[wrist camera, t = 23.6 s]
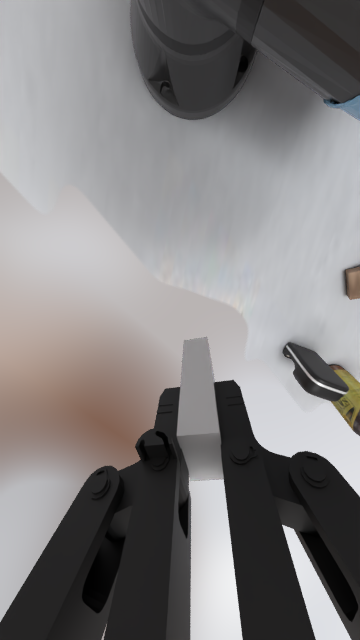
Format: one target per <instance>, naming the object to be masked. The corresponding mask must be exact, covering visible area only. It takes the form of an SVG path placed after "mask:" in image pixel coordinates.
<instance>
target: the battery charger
mask: <svg viewBox="0 0 360 640" xmlns="http://www.w3.org/2000/svg"><path fill="white" fill-rule="evenodd" d="M283 354H284V356H285V357H287V358H290V359H292V360H293V362H294V363H295V370H294V371H293V375H294V377H295V378H296V380H297V381H298V383H299V384H300V385H301V387H302V388H303V389H304V390H305V391H306V392H308V393H310V394H312V395H314V396H317V397H320V398H323V399H326V400H329V401H333V402H336V401H338V400H340V399H341V398H342V397H343V396H344V395H345V394H347V393H348V391H349V387H348V385H347V384H346V383H345V382H344V381H343V380H342V379H341V378H340V377H339V376H338V375H337V373H336V372H335V371H334V370H333V369H332V368H331V367H330V366H329V365H328V364H327V363H326V362H325V361H324V360H323V359H322V358H321V357H320V356H319V355H318V354H317V353H316V352H313V351H311V350H308V349H306V348H303V347H300V346H297V345H295V344H292V343H288V345H286V347H285V349H284V351H283Z"/></svg>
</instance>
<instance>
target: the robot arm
mask: <svg viewBox="0 0 360 640" xmlns="http://www.w3.org/2000/svg"><path fill="white" fill-rule="evenodd" d="M130 21H131V34H132V41H133V47H134V51H135V55H136V59H137V62H138V65H139V68H140V71H141V74H142V77H143V79H144V81H145V83H146V86H147V87H148V89H149V91H150V93H151V94H152V96H153V97H154V98H155V100H156V101H157V102H158V103H159V104H160V105H161V106H162V107H163V108H164V109H165V110H167V111H168V112H170V113H171V114H173V115H175V116H178V117H180V118H184V119H202V118H206V117H209V116H211V115H213V114H215V113H217V112H219V111H220V110H222V109H223V108H224V107H225V106H226V105H228V104H229V103H230V102H231V101H232V100H233V98H234V97H235V96H236V95H237V93H238V92H239V91H240V89H241V87H242V86H243V84H244V82H245V80H246V78H247V76H248V74H249V72H250V70H251V67H252V64H253V61H254V59H255V56H256V53H257V50H258V51H260V52H261V53H262V54H264V55H265V56H266V57H268V58H269V59H271V60H272V61H273V62H275V63H276V64H277V65H279V66H280V67H281V68H283V69H284V70H285V71H287V72H288V73H290V74H291V75H292V76H294V77H295V78H296V79H298V80H299V81H300V82H302V83H303V84H305V85H306V86H307V87H309V88H310V89H311V90H313V91H314V92H315V93H317V94H318V95H319V96H321V97H322V98H323V99H324V103H325V104H327V105H328V106H329V107H332V108H340V109H341V110H343V111H345V112H346V113H348V114H350V115H351V116H353V117H354V118H356V119H358V120H360V0H131V8H130ZM135 448H136V450H137V452H138V454H139V456H140V459H141V460H140V461H138V462H137V463H135V464H133V465H131V466H129V467H126V468H124V469H122V470H119V471H117V469H116V468H114V467H112V466H104V467H101V468H99V469H97V470H96V471H95V472H94V473H92V474H91V476H90V477H89V478H88V479H87V481H86V482H85V483H84V485H83V487H82V488H81V490H80V491H79V493H78V495H77V496H76V498H75V500H74V501H73V503H72V505H71V506H70V508H69V510H68V512H67V513H66V515H65V516H64V518H63V520H62V521H61V523H60V524H59V526H58V528H57V530H56V531H55V533H54V534H53V536H52V538H51V540H50V541H49V543H48V544H47V546H46V548H45V549H44V551H43V553H42V554H41V556H40V558H39V559H38V561H37V562H36V564H35V566H34V567H33V569H32V571H31V572H30V574H29V576H28V577H27V579H26V581H25V583H24V584H23V586H22V587H21V589H20V591H19V592H18V594H17V596H16V597H15V599H14V600H13V602H12V604H11V605H10V607H9V609H8V610H7V612H6V614H5V616H4V617H3V619H2V621H1V622H0V640H101V639H102V636H103V633H104V630H105V627H106V624H107V627H106V631H105V636H104V640H190V578H191V575H190V574H191V571H190V570H191V497H190V491H189V487H188V485H189V477H190V480H191V481H200V480H218V479H224V485H225V493H226V502H227V510H228V518H229V527H230V535H231V544H232V552H233V560H234V569H235V577H236V586H237V594H238V603H239V611H240V619H241V628H242V637H243V640H316V639H315V636H314V632H313V629H312V626H311V623H310V619H309V615H308V612H307V609H306V605H305V602H304V598H303V595H302V592H301V588H300V585H299V582H298V578H297V575H296V571H295V568H294V564H293V561H292V558H291V554H290V551H289V548H288V544H287V540H286V537H285V534H284V530H283V527H282V525H285V526H287V527H290V528H293V529H294V530H295V532H296V534H297V536H298V538H299V540H300V542H301V544H302V546H303V548H304V549H305V551H306V553H307V555H308V557H309V559H310V561H311V562H312V565H313V567H314V569H315V571H316V572H317V574H318V576H319V578H320V580H321V582H322V584H323V586H324V588H325V590H326V591H327V594H328V595H329V597H330V599H331V601H332V603H333V605H334V607H335V609H336V611H337V613H338V614H339V616H340V618H341V620H342V622H343V624H344V626H345V628H346V630H347V632H348V633H349V636H350V638H351V639H352V640H360V497H359V495H358V494H357V493H356V492H355V491H354V489H353V488H352V487H351V486H350V485H349V484H348V482H347V481H346V480H345V479H344V478H343V476H342V475H341V474H340V473H339V472H338V470H337V469H336V468H335V467H334V466H333V465H332V464H331V463H330V462H329V461H328V460H327V459H325V458H324V457H322V456H320V455H318V454H316V453H312V452H308V451H304V452H298V453H296V454H295V455H293V456H292V457H291V458H290V457H286V456H282V455H278V454H275V453H272V452H269V451H268V450H266V449H265V448H263V447H262V446H261V445H260V444H259V443H258V442H257V440H256V439H255V437H254V434H253V432H252V428H251V424H250V421H249V418H248V414H247V411H246V407H245V404H244V400H243V397H242V393H241V389H240V387H239V386H238V385H237V383H236V382H235V381H234V380H230V381H221V382H215V381H214V374H213V367H212V361H211V356H210V350H209V344H208V339H207V337H204V338H198V339H190V340H184V346H183V360H182V372H181V386H180V387H177V388H169V389H165V390H164V392H163V393H162V395H161V396H160V400H159V406H158V410H157V415H156V420H155V426H154V429H150V430H149V431H147V432H145V433H144V434H143V435H142V436H141V437H140V438H139V439H138V441H137V443H136V446H135ZM107 621H108V622H107Z"/></svg>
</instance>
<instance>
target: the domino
mask: <svg viewBox="0 0 360 640" xmlns="http://www.w3.org/2000/svg"><path fill="white" fill-rule="evenodd" d="M346 282H347V296H348V297H349V299H350V300H352V299H358V298H360V267H356V268H351V269H347V270H346Z"/></svg>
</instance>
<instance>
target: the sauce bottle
mask: <svg viewBox="0 0 360 640" xmlns="http://www.w3.org/2000/svg"><path fill="white" fill-rule="evenodd" d="M330 367H331V368H332V369H333V370H334V371H335V372H336V373H337V375H338V376H339V377H340V378H341V379H342V380H343V381H344V382H345V383H346V384H347V385H348V387H349V391H348V393H347V394H345V395H344V396H343V397H342V398H341V399H340V400H338V401H336V402H333V401H331V402H332V404H333V405H334V406H335V408H336V409H337V410H338V411H339V413H340V414H341V415H342V417H343V418H344V419H345V421H346V422H347V423H348V424H349V426H350V427H351V428H352V430H353V431H354V432H355V433H356V434H358V435H359V436H360V383H359V382H358V381H357V380H356V379H355V378H354V377H353V376H352V375H351V374H350V373H349V372H347V371H346V370H345V369H344V368H342V367H340V366H337V365H331V366H330Z"/></svg>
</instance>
